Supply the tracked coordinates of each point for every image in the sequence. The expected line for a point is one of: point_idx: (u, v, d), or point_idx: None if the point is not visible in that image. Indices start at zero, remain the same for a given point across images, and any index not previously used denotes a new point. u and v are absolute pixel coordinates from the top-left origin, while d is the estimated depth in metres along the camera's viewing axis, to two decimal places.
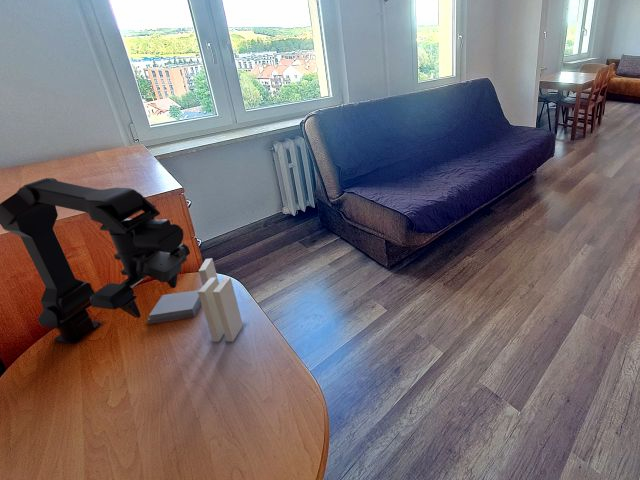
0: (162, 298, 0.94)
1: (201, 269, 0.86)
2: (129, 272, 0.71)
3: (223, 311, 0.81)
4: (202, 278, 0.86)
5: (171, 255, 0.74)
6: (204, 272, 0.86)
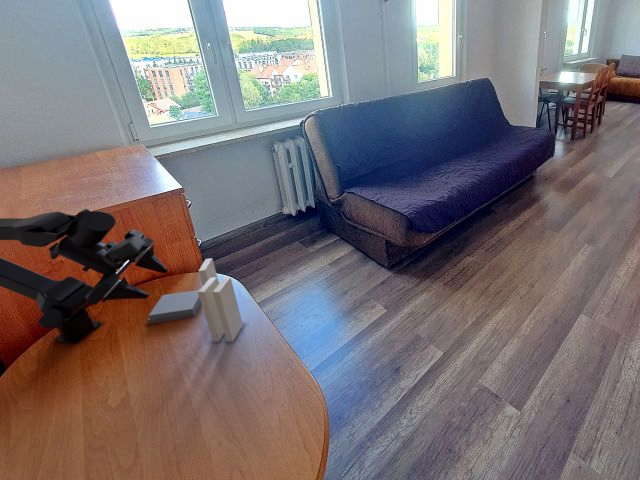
0: (162, 298, 0.94)
1: (201, 269, 0.86)
2: (105, 270, 0.78)
3: (223, 311, 0.81)
4: (202, 278, 0.86)
5: (127, 238, 0.81)
6: (204, 272, 0.86)
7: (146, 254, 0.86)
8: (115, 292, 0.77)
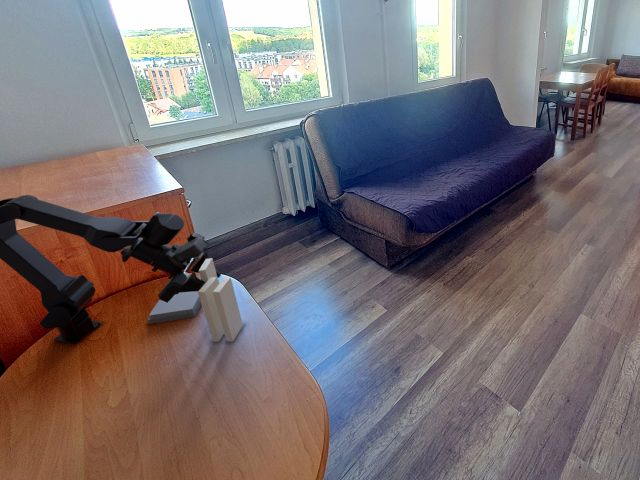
0: None
1: (201, 269, 0.86)
2: (172, 270, 0.83)
3: (223, 311, 0.81)
4: (202, 278, 0.86)
5: (190, 241, 0.87)
6: (204, 272, 0.86)
7: (201, 260, 0.90)
8: (186, 285, 0.84)
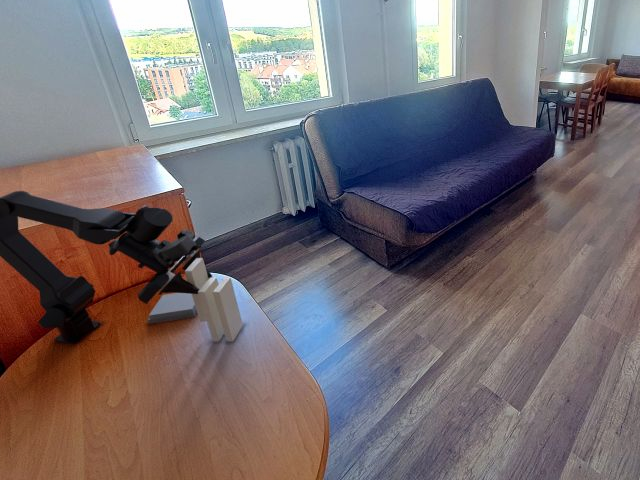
0: (162, 298, 0.94)
1: (188, 269, 0.80)
2: (157, 269, 0.78)
3: (223, 311, 0.81)
4: (188, 279, 0.80)
5: (179, 238, 0.81)
6: (190, 274, 0.80)
7: (192, 259, 0.85)
8: (170, 286, 0.79)
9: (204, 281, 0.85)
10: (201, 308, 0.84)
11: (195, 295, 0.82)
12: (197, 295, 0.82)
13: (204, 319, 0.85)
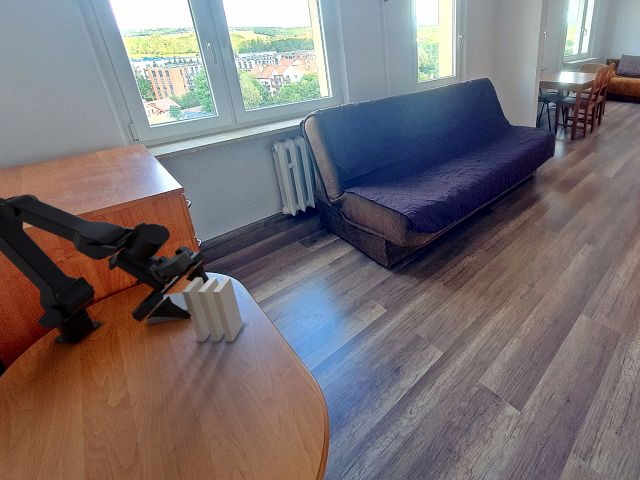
0: None
1: (185, 290, 0.79)
2: (154, 286, 0.77)
3: (223, 311, 0.81)
4: (186, 299, 0.79)
5: (177, 254, 0.80)
6: (188, 294, 0.79)
7: (196, 270, 0.85)
8: (160, 310, 0.76)
9: None
10: (198, 328, 0.83)
11: (193, 315, 0.81)
12: (195, 315, 0.81)
13: (202, 339, 0.84)
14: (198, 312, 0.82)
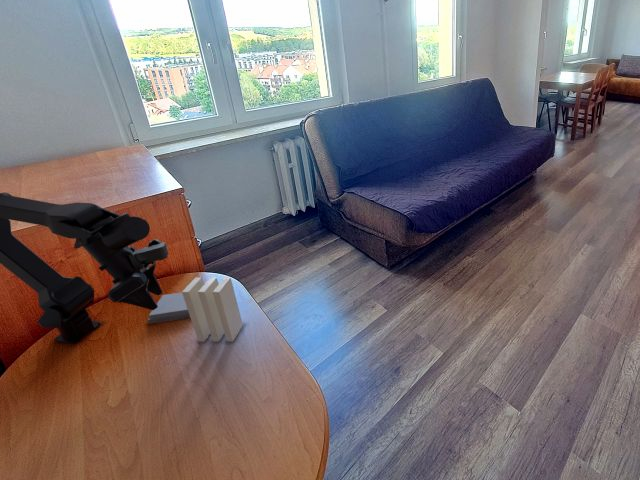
0: (162, 298, 0.94)
1: (185, 290, 0.79)
2: (124, 272, 0.76)
3: (223, 311, 0.81)
4: (186, 300, 0.79)
5: (151, 245, 0.82)
6: (188, 294, 0.79)
7: (150, 270, 0.85)
8: (131, 295, 0.74)
9: None
10: (198, 328, 0.83)
11: (193, 315, 0.81)
12: (195, 315, 0.81)
13: (202, 339, 0.84)
14: (198, 312, 0.82)
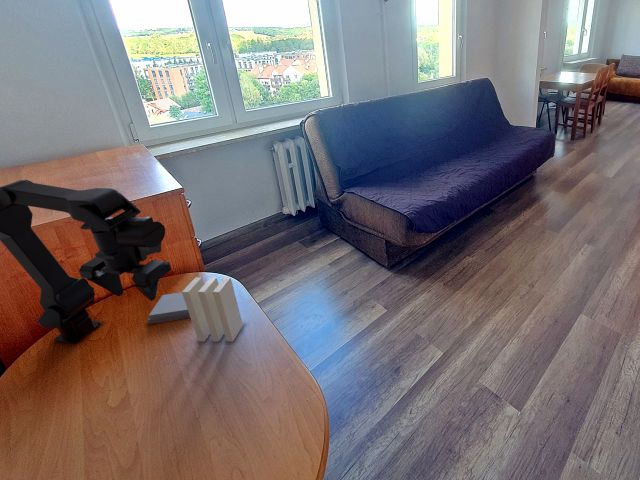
0: (162, 298, 0.94)
1: (185, 290, 0.79)
2: (133, 261, 0.76)
3: (223, 311, 0.81)
4: (186, 300, 0.79)
5: None
6: (188, 294, 0.79)
7: None
8: None
9: None
10: (198, 328, 0.83)
11: (193, 315, 0.81)
12: (195, 315, 0.81)
13: (202, 339, 0.84)
14: (198, 312, 0.82)
